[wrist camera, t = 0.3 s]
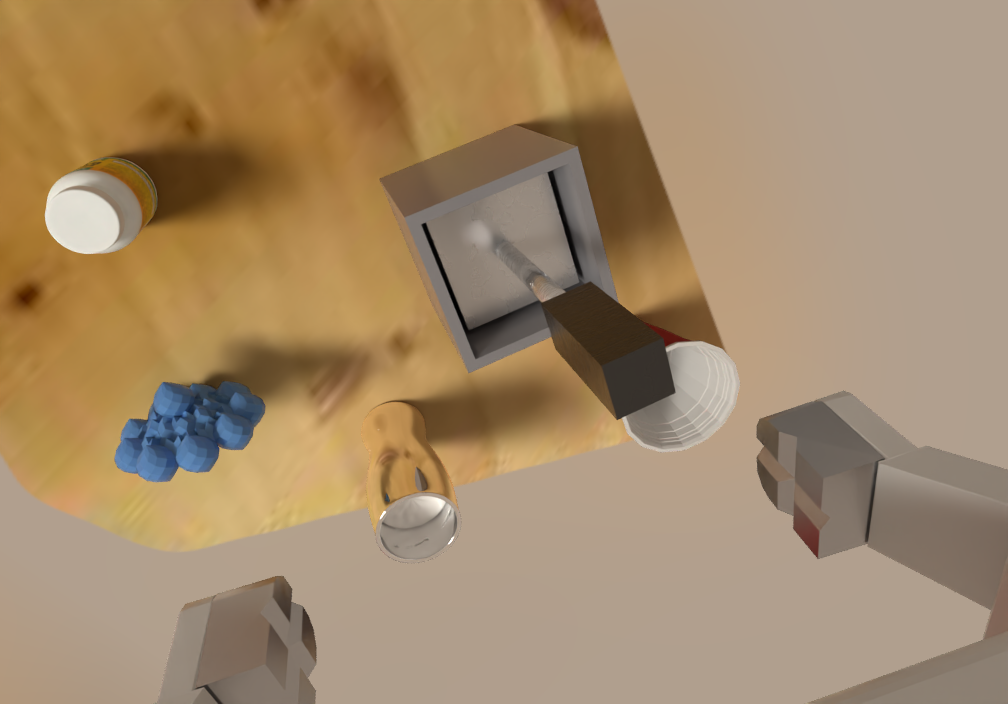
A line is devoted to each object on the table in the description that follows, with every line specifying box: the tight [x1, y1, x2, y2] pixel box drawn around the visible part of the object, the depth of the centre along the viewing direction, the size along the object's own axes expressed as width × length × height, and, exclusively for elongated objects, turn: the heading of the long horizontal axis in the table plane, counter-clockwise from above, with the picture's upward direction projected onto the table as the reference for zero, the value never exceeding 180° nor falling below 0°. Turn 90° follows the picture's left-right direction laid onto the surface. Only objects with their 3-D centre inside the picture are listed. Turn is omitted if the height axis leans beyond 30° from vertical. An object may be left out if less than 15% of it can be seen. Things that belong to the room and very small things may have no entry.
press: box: [379, 125, 619, 373], centre depth 51 cm, size 12×12×14 cm
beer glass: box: [361, 402, 461, 563], centre depth 56 cm, size 7×7×15 cm
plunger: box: [425, 173, 676, 420], centre depth 39 cm, size 9×9×22 cm
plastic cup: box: [622, 322, 740, 452], centre depth 61 cm, size 11×11×12 cm
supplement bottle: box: [45, 157, 157, 254], centre depth 44 cm, size 5×5×10 cm
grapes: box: [115, 381, 265, 482], centre depth 50 cm, size 12×7×12 cm, turn 106°
